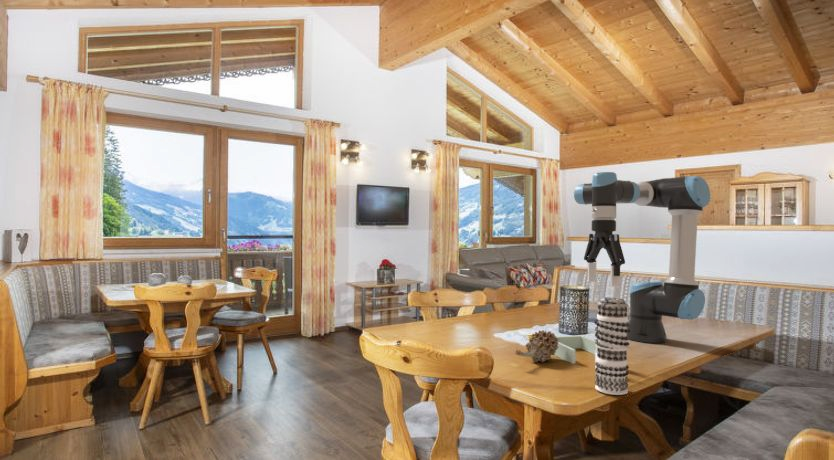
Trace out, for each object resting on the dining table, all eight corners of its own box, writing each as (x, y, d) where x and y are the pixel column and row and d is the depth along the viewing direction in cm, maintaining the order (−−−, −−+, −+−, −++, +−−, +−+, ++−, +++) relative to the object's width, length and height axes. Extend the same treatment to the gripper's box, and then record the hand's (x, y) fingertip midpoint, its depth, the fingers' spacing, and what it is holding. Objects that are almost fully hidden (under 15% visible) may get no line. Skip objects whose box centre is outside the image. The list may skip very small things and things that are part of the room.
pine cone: (538, 354, 170) (539, 325, 170) (564, 359, 164) (565, 329, 164) (505, 367, 154) (506, 335, 154) (533, 373, 148) (533, 340, 148)
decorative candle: (593, 392, 130) (594, 299, 130) (593, 382, 139) (594, 295, 139) (630, 397, 127) (631, 302, 127) (628, 386, 136) (629, 297, 136)
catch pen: (581, 347, 181) (582, 335, 181) (613, 361, 162) (613, 347, 162) (544, 349, 177) (544, 337, 177) (572, 363, 159) (572, 349, 159)
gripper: (574, 219, 171) (573, 280, 171) (615, 218, 146) (614, 288, 147) (593, 220, 172) (593, 279, 172) (637, 218, 148) (637, 288, 148)
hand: (602, 284), depth 159 cm, fingers open, 13 cm apart
